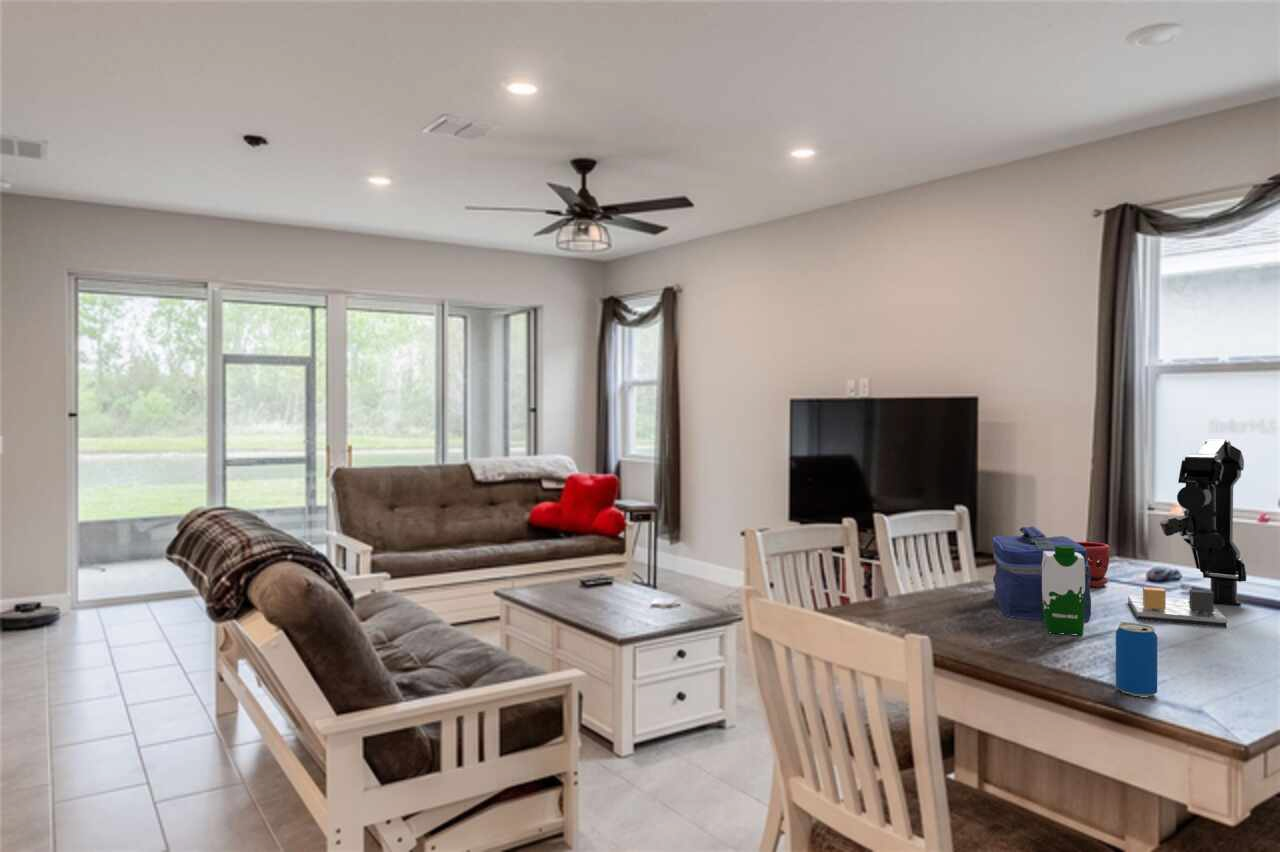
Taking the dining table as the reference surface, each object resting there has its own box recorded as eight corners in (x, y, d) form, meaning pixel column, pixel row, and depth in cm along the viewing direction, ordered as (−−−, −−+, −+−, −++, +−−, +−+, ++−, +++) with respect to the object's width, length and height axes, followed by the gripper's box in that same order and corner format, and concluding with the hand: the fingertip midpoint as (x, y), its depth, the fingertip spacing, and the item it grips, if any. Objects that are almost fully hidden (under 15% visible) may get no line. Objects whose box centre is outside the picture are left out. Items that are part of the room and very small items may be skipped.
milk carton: (1045, 634, 189) (1044, 547, 189) (1040, 624, 198) (1039, 541, 198) (1088, 637, 187) (1087, 549, 186) (1080, 627, 195) (1080, 543, 195)
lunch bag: (986, 593, 233) (986, 520, 233) (1068, 597, 227) (1068, 522, 227) (1005, 620, 203) (1004, 537, 203) (1100, 625, 198) (1100, 539, 197)
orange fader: (1142, 610, 206) (1142, 587, 206) (1163, 611, 205) (1163, 588, 205) (1144, 613, 204) (1144, 589, 204) (1165, 614, 202) (1165, 590, 202)
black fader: (1189, 613, 203) (1189, 589, 203) (1210, 614, 202) (1210, 590, 201) (1191, 615, 201) (1191, 591, 201) (1213, 617, 199) (1213, 593, 199)
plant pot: (1110, 582, 245) (1110, 542, 245) (1108, 590, 234) (1108, 548, 234) (1061, 578, 252) (1061, 539, 252) (1056, 585, 241) (1056, 545, 241)
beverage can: (1163, 700, 146) (1163, 632, 146) (1123, 697, 147) (1123, 631, 147) (1148, 688, 152) (1148, 623, 152) (1110, 686, 154) (1110, 621, 154)
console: (1128, 602, 220) (1128, 594, 220) (1209, 608, 212) (1209, 600, 212) (1137, 619, 201) (1137, 611, 201) (1226, 627, 194) (1226, 618, 194)
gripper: (1156, 501, 213) (1156, 562, 213) (1168, 509, 196) (1168, 575, 196) (1208, 503, 208) (1208, 565, 208) (1225, 511, 191) (1225, 578, 191)
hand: (1201, 570), depth 201 cm, fingers open, 4 cm apart
